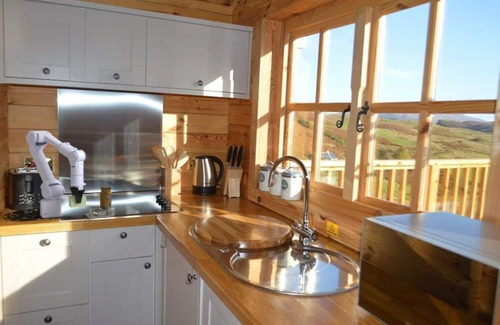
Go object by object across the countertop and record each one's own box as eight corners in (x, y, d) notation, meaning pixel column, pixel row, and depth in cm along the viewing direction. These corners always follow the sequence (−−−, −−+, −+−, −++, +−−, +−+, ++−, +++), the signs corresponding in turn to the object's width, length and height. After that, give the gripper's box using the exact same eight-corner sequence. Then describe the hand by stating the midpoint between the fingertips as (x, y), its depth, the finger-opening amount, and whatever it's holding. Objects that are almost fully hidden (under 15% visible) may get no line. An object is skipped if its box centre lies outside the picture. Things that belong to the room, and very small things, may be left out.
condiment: (109, 206, 237) (109, 185, 236) (115, 209, 230) (115, 188, 229) (96, 207, 232) (96, 186, 231) (102, 210, 226) (102, 189, 225)
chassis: (89, 218, 207) (89, 211, 206) (85, 215, 214) (85, 207, 213) (114, 216, 214) (114, 208, 213) (108, 212, 221) (108, 205, 220)
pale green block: (71, 207, 201) (70, 197, 201) (68, 206, 205) (68, 196, 204) (86, 206, 205) (86, 196, 205) (83, 204, 209) (83, 195, 208)
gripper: (89, 176, 200) (89, 204, 201) (82, 172, 212) (82, 199, 213) (74, 177, 196) (74, 205, 197) (67, 173, 208) (67, 200, 209)
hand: (77, 202), depth 205 cm, fingers closed on pale green block, 4 cm apart
